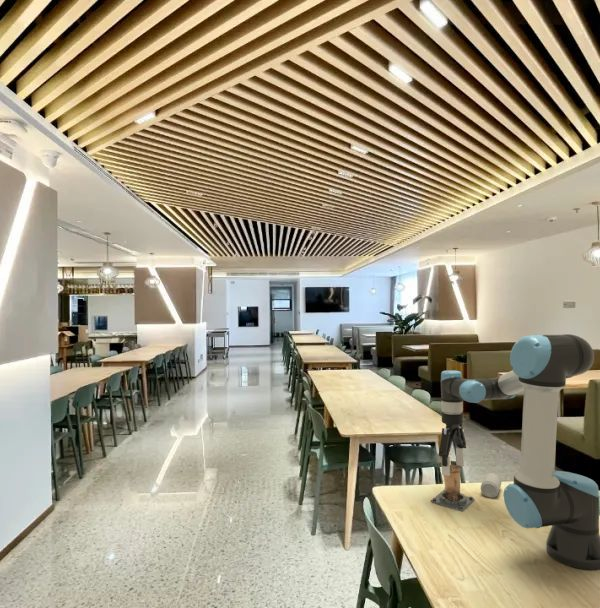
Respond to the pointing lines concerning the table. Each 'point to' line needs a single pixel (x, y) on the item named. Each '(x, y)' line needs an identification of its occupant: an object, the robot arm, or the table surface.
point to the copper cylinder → (453, 483)
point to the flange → (453, 501)
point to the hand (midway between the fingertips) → (453, 470)
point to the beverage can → (491, 485)
